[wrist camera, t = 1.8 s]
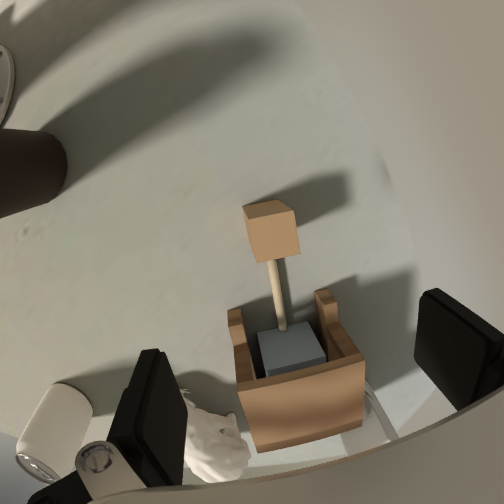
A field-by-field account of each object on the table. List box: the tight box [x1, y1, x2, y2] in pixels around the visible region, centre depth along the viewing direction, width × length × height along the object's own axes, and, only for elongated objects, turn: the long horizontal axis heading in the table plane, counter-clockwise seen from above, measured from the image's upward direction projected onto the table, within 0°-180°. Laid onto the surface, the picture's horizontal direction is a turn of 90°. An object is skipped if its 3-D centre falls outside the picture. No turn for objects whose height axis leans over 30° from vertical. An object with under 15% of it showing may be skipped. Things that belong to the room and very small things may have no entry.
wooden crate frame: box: [227, 289, 365, 453], centre depth 25 cm, size 10×9×9 cm
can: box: [15, 383, 93, 485], centre depth 24 cm, size 6×6×12 cm
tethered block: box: [242, 199, 326, 377], centre depth 25 cm, size 17×5×6 cm, turn 11°
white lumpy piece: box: [180, 389, 251, 483], centre depth 28 cm, size 6×8×12 cm
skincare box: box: [339, 380, 399, 457], centre depth 27 cm, size 6×4×12 cm
